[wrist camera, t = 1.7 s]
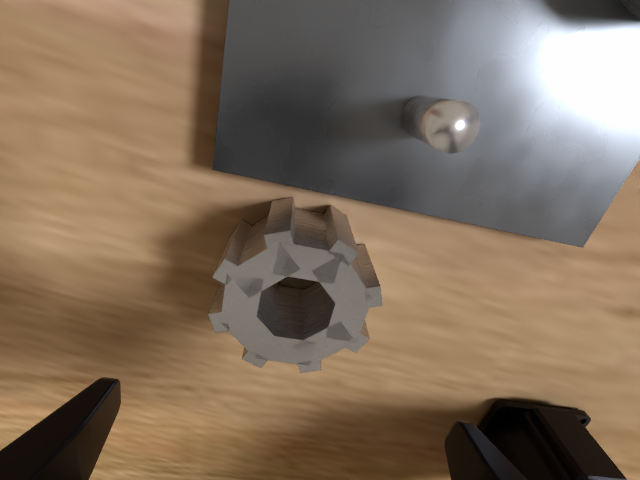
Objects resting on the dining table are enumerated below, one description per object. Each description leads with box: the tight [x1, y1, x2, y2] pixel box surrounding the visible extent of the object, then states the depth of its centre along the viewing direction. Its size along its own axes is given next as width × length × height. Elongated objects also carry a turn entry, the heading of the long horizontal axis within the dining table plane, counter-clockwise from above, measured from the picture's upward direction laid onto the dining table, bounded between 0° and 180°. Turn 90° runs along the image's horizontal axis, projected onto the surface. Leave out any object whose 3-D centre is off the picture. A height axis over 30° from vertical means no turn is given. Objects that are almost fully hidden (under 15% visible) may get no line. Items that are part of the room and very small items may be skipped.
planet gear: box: [208, 197, 382, 373], centre depth 14 cm, size 6×6×4 cm
